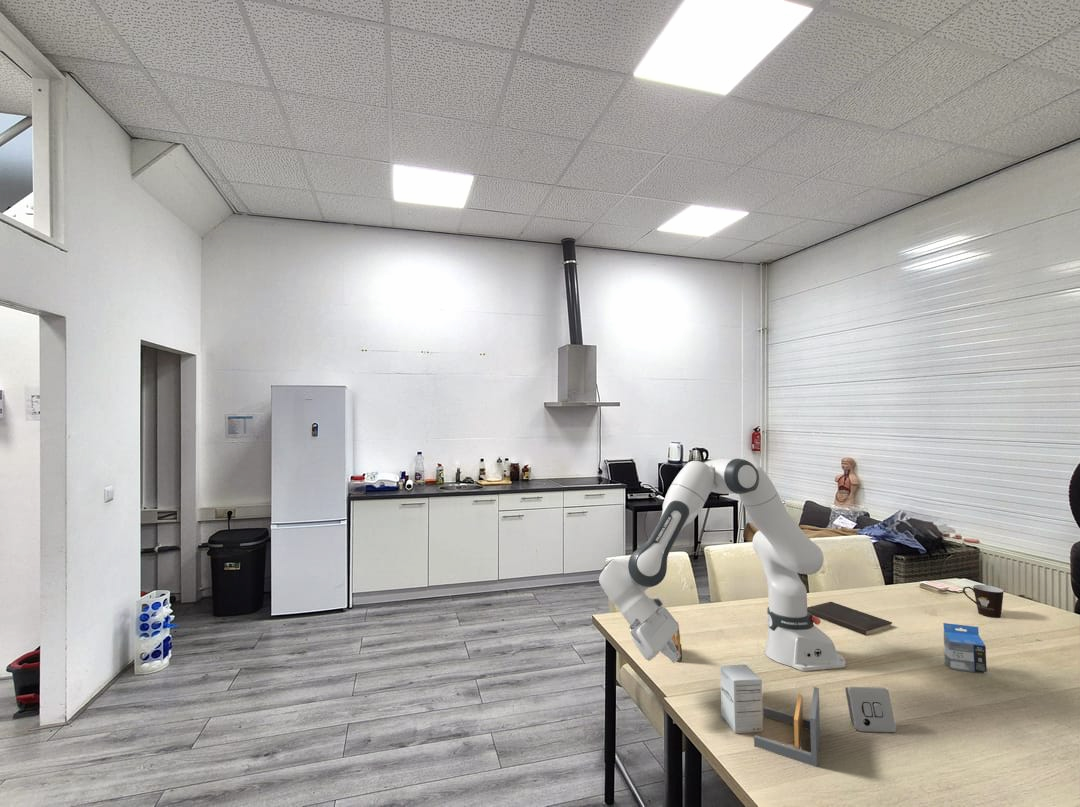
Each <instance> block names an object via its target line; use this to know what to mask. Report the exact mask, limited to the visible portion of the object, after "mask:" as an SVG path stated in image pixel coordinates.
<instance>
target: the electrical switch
mask: <svg viewBox="0 0 1080 807" xmlns="http://www.w3.org/2000/svg"><path fill="white" fill-rule="evenodd" d="M844 689H845V695H846V700H847V706H848V712H849V717H850V723H851V724H852V725H853V727H854V729H855V730H856V731H858V732H874V733H875V732H879V733H880V732H881V733H896V731H897V728H896V727H897V726H896V723H895V716H894V712H893V707H892V702H891V697H890V692H889V690H888V689H887V688H885V687H884V686H883V687H881V686H880V687H878V686H848V687H844Z"/></svg>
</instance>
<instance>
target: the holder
mask: <svg viewBox="0 0 1080 807" xmlns="http://www.w3.org/2000/svg"><path fill="white" fill-rule="evenodd" d="M820 709H821V708H820V688H819V687H817V686H816V687H815V686H814V687H813V694H812V700H811V707H810V716H809V718H807V717H804V716H803V729H806V730H809V731H810V751H807V750H804V749H801V748H800V749H798V748H795V746H791V745H788V744H785V743H781V742H778V741H775V740H772V739H769V738H766V737H762V736H759V735H757V734H754V736H753V743H754V744H753V746H754V748H755V747H756V748H759V749H761V748H762V749H761V750H764V749H765V751H767V750H768V751H769V752H770V751H771V753H774V754H776V753H777V754H776V755H781V756H783V757H786V758H788V759H792V760H795V761H798V762H801V763H804V764H808V765H810V766H813V767H815V768H816V767H818V760H819V759H818V758H819V749H820V748H819V746H820V737H821V719H820V718H821V715H820V714H821V712H820V711H821V710H820ZM794 715H795V713H794V714H793V713H789V712H786V711H784V710H780V709H776V708H773V707H769V706H765V705H762V716H763V717H766V718H769V719H772V720H776V721H779V722H782V721H783V722H782V723H785V722H786V724H789V725H793V726H794ZM768 751H767V752H768Z"/></svg>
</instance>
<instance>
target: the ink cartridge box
mask: <svg viewBox="0 0 1080 807" xmlns="http://www.w3.org/2000/svg"><path fill="white" fill-rule="evenodd" d="M957 629H958V630H957ZM959 629H962V630H959ZM964 630H966V631H964ZM979 633H980V631H979V627H978V626H974V625H973V626H972V625H964V624H956V623H946V622H943V654H944V655H943V656H944V657H943V658H944V664H945V665H946V666H947V667H948V668H949V669H950V670H955V671H962V672H970V673H978V674H985V675H987V674H988V670H987V669H988V667H987V650H986V648H987V647H986V644H985V643H984V641H983V639H982V638H981V636H980V635H979Z"/></svg>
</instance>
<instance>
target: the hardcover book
mask: <svg viewBox="0 0 1080 807" xmlns="http://www.w3.org/2000/svg"><path fill="white" fill-rule="evenodd" d="M807 612H809V613H810V614H812V615H813V616H816V617H817V618H819V619H820V620H823V621H827V622H829V623H831V624H834V625H836V626H840V627H841V628H845V629H847V630H850V631H852V632H854V633H857V634H861V635H863V636H868V635H870V634H871V635H872V634H874V633H877V632H880V631H883V630H886V629H889V628H891V627H892V624H893V622H892V621H890V620H886V619H884V618H883V619H882V618H881V617H878V616H874V615H872V614H868V613H865V612H863V611H861V610H858V609H854V608H851V607H848V606H845V605H842V604H839V603H836V602H833V601H827V602H824V603H819V604H815V605H812V606H807Z"/></svg>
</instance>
